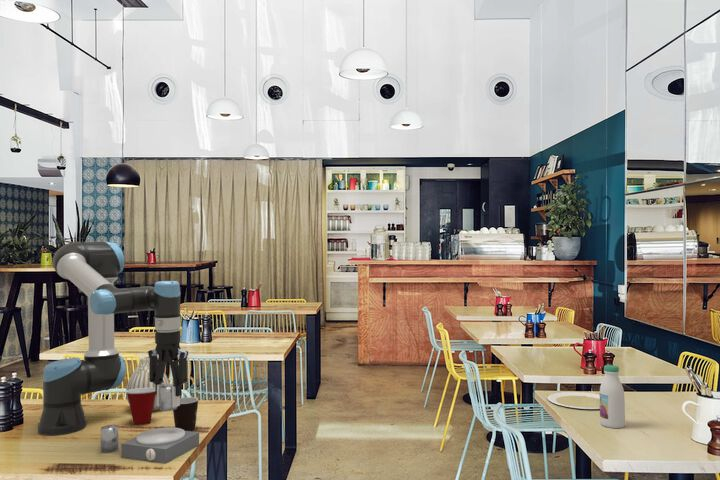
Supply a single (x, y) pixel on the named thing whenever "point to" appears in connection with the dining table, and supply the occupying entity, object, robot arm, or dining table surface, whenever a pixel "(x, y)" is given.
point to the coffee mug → (186, 414)
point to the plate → (553, 397)
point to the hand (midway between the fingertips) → (168, 405)
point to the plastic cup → (141, 404)
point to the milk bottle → (612, 399)
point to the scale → (160, 444)
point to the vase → (143, 379)
